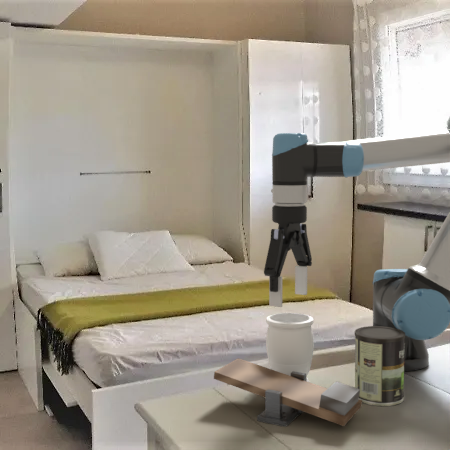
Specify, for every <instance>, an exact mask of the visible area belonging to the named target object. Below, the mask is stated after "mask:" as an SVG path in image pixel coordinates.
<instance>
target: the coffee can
mask: <svg viewBox="0 0 450 450" xmlns="http://www.w3.org/2000/svg"><path fill="white" fill-rule="evenodd" d="M354 339H355V340H354V346H355V347H354V352H355V353H354V387H355V388H358V389H360V394H359V399H360V400H362V403H363V404H365V405H370V406H377V407H391V406H396V405H400V404H401V403H403V401H405V395H404V394H405V393H404V391H405V390H404V389H405V388H404V387H405V380H404V379H405V371H404V347H405V346H404V342H405V332H403V331H402V330H399V329H396V328H392V327H384V326H373V325H369V326H363V327H358V328H356V329H355V330H354Z"/></svg>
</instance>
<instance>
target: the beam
mask: <svg viewBox="0 0 450 450" xmlns="http://www.w3.org/2000/svg"><path fill="white" fill-rule="evenodd" d="M213 373H214V374H213V380H216V381H219V382H222V383H224V384H227V385H229V386H232V387H236V388H238V389H241V390H244V391H247V392H249V393H252V394H255V395H257V396H260V397H262V398H265V391H266V390H268V389H269V390H275V391H280V392H282V404H284V405H287V406H290V407H293V408H295V409H298V410H301V411H303V413H306V414H309V415H312V416H315V417H317V418H321V419H323V420H326V421H328V422H332V423H334V424H337V425H340V426H342V427H344V426H346V424H347V423H348V422H349V421H350V420H351V419H352V418H353V417H354V416H355V415H356V414H357V413H358V411H359V410H360V409H361V408H362V403H363V402H362V400H360V399H359V394H360V389H358V388H355V386H351V385H350V384H349V385H348V384H345V383H342V382H340V381H335V382H334V383H332V384H331V385H330V386H329V387H328V388H326V387H323V386H321V385H318V384H315V383H312V382H310V381H309V382H307V381H304V380H301V379H298V378H295V377H292V376H289V375H286V374H283V373H280V372H277V371H274V370H272V369H270V367H269V368H268V367H267V366H266V367H265V366H262V365H259V364H257V363H253V362H250V361H248V360H245V359H242V358H236V359H234V360H232V361H230V362H229V363H228V364H226V365H223V366H222V367H220V368H219V369H217V370H216V371H214V372H213Z"/></svg>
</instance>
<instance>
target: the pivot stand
mask: <svg viewBox="0 0 450 450" xmlns="http://www.w3.org/2000/svg"><path fill="white" fill-rule="evenodd" d="M291 376H292V377H295V378H298V379H301V380H304V381H306V373H300V372H294V371H293V372H291ZM264 398H265V399H264V402H265V406H264V407H265V409H264V410H263V411H261V412H260V413H259V414H258V415H256V418H257V421H258V422H262V423H266V424H269V425H270V424H271V425H275V426H280V427H284V428H285V427H287V426H289V425H290V424H291V423H292V422H293V421H295V419H296V418H297V417H299V416H300V415H301V414H302V413H304V411H301V410H298V409H295V408H293V407H290V406H287V405H284V404H282V392H280V391H275V390H269V389H268V390H266V391H265V397H264Z"/></svg>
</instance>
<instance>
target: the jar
mask: <svg viewBox="0 0 450 450" xmlns="http://www.w3.org/2000/svg"><path fill="white" fill-rule="evenodd" d="M314 320H315V319H314V316H311V315H309V314H305V313H298V312H281V313H274V314H270V315H267V316H266V321H265V322H266V324H267V325H268V327H267V329H266V330H267V331H266V337H265V346H266V347H265V349H266V355H267V361H268V362H267V363H268V367H269V369H272V370H274V371H277V372H280V373H283V374H286V375H289V376H291V372H293V371H294V372H300V373H306V381H307V382H310V380H309V378H308V377H307V376H308V374H309V373H310V370H311V366H312V362H313V355H314V350H315V349H314V345H315V341H314V340H315V339H314V331H313V328H312V325H313V324H314V322H315V321H314Z"/></svg>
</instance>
